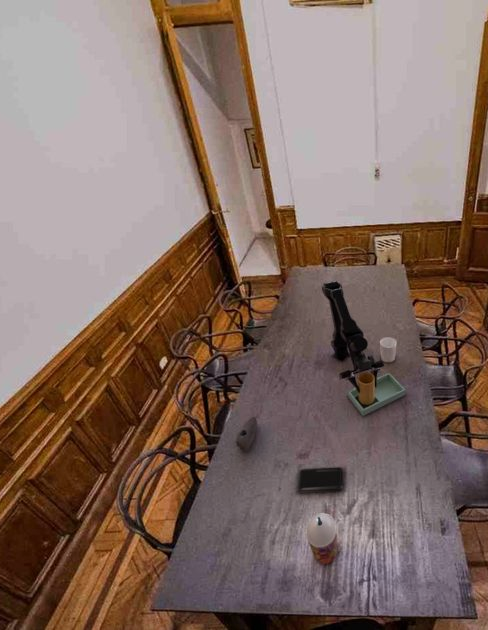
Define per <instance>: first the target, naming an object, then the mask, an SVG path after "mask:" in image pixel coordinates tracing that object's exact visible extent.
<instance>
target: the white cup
mask: <svg viewBox="0 0 488 630" xmlns="http://www.w3.org/2000/svg"><path fill="white" fill-rule="evenodd" d="M379 349H380V351H379V352H380V359H381V360H382V361H383V362H384V363H392V362H393V361H395V359H396V353H397V339H395V338H393V337H390V336H389V337H387V336H386V337H383V338H381V339H380V341H379Z"/></svg>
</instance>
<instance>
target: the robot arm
mask: <svg viewBox="0 0 488 630" xmlns="http://www.w3.org/2000/svg"><path fill="white" fill-rule="evenodd" d="M321 291H322V293H323V295H324V297H325V298H326V299H327V300H328V304H329V309H330V313H331V314H330V315H331V319H332V324H333V329H334V330H333V332H332V336H331V337H332V340H330V346H331V348H332V349H333V352H334V354H333V355H332V357H333V358H335V359H337V360H339V361H341V362H343V361H345V360H346V359H347V358H348V357H349V356H350V361H351V363H352V367H353V370H352V369H351V370H350V369H348V370H344V371H342V372H339V373H338V377H339V380H345V381H349V383H350V384H351V385H352V386H353V387H354V389H356V390H357V391H358V393H360V390H359V387H358V381H357V379H356V376H354V375H358V374H361V373H364V372H368V371H369V373H371V374H373V375H374V378H375V388H376V387H377V378H378V373H379V371H381V368H384V367H385V361H383V360H382V359H381V360H378V361H375V358H374V356H373V355H368V356H367V357H366V354H365V352H364V351H366V349H367V348H368V345H369V343H368V340H367V339H366V338H365V337H364V331H363V330H362V329H361V328H360V326H359V325H358V324H357V322H356V320H354V319H353V318H352V316H351V313H350V311H349V308H348V305H347V302H346V299H345V297H344V291H343V284H342V283H341V282H338V281H337V280H332V281H328V282H324V283H323V284H322V285H321Z"/></svg>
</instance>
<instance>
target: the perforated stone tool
mask: <svg viewBox="0 0 488 630" xmlns="http://www.w3.org/2000/svg"><path fill="white" fill-rule="evenodd" d="M257 426H258V420H257V417H255V416H252V417H250V418H249V419H248V420H246V421H245V422H244V424H243V426H242V427H241V429H240V431H239V432H238V433H237V435H236V438H235V443H236V445H235V446H236V447H237V448H239V451H242V452H244V453H248V452H249V450H250V448H251V446H252V444H253V442H254V439H255V435H256V431H257V428H258V427H257Z"/></svg>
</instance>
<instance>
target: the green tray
mask: <svg viewBox="0 0 488 630" xmlns="http://www.w3.org/2000/svg"><path fill="white" fill-rule="evenodd" d="M405 395H406V388H405V387H404V386H403V385H402V384H401V383H400V382H399V381H398V380H397V379H396V378H395V377H394V376H393V375H392V374H391V373H390V372H387V373H385V374H383V375H381V376H379V377H377V387H376V388H375V397H376V398H377V399H378V401H379V402H377V403H375V404H373V405H371V406H369V407H367V408H365V409H363V408H362V407H361V405H360V404H359V403H358V401H357V400H356V399H355V398H354V397H357V396H358V391H357V390H356V389H355V388H352V389H351V390H348V391H347V396H348V399H350V401H351V402H352V403H353V405H354V406H355V408H356V409H357V410H358V411H359V412H360V414H361V415H362V416H364V417H365V416H366V415H368V414H370V413H372V412H373V411H376V410H378V409H381V408H382V407H384V406H386V405H387V404H390V403H392V402H394V401H396V400H398V399H400V398H401V397H404V396H405Z"/></svg>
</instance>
